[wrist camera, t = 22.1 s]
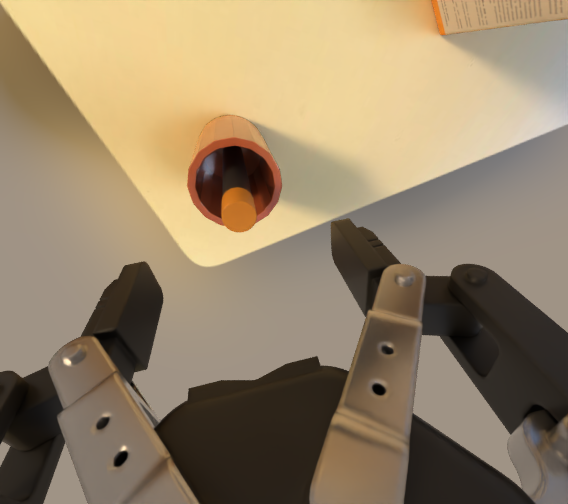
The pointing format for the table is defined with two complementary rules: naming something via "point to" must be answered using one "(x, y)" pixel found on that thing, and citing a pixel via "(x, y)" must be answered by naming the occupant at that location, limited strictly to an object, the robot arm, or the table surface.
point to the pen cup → (209, 167)
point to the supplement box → (495, 13)
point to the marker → (236, 192)
